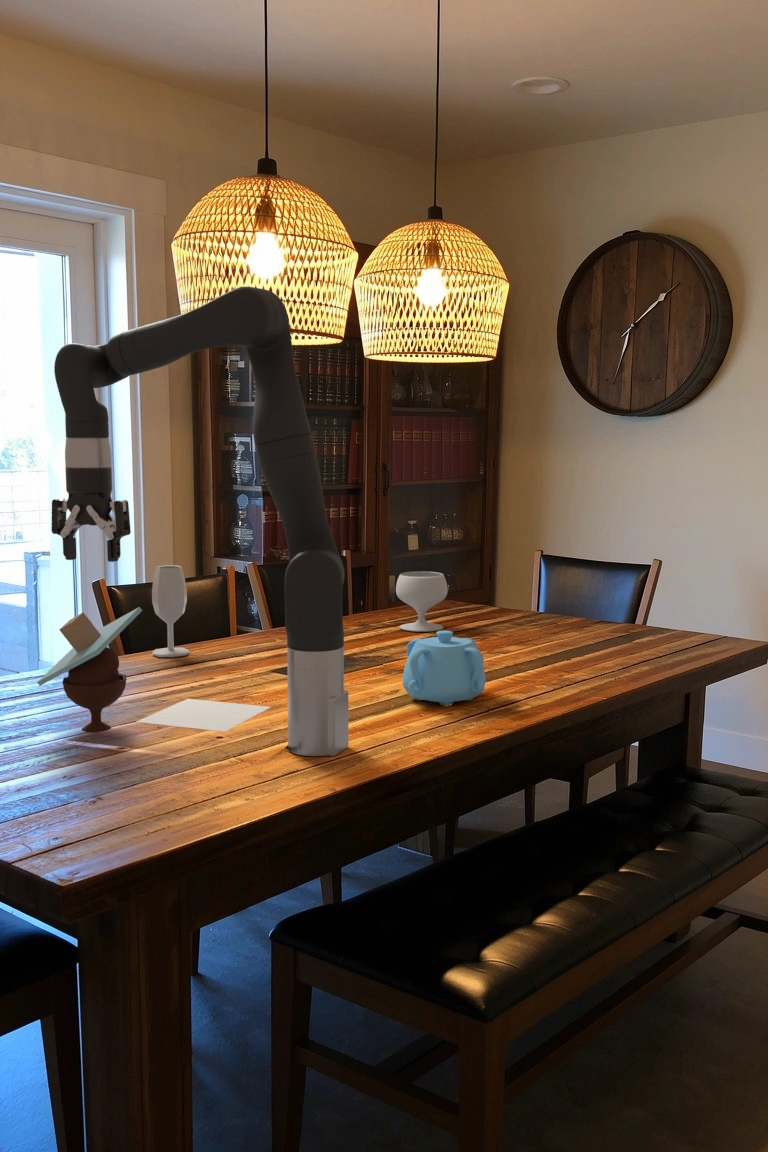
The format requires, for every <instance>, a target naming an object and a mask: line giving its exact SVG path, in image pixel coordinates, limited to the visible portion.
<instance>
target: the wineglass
mask: <svg viewBox="0 0 768 1152" xmlns="http://www.w3.org/2000/svg"><path fill="white" fill-rule="evenodd" d="M184 573H185V572H184V570H183V567H182V566H181V565H174V564H173V565H169V564H168V565H158V566H156V567H155V571H154V574H153V579H152V587H151V588H152V589H151V603H152V606H153V610H154V614H155V615H156V616H158V618H159V619H161V620H162V621H164V623H166V626H167V628H166V629H167V647H163V648H155V649H154V650H152V653H151V654H152V656H155V657H157V658H177V657H185V656H187V655H189V653H190V650H189V649H188V648H185V647H175V645H174V644H175V643H174V623H176V621H178V620H179V618H180V617H181V616H182V615H184V613H185V611H186V607H187V606H186V605H187V602H188V590H187V584H186V583H187V582H186V578H185V574H184Z"/></svg>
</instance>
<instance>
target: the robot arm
mask: <svg viewBox="0 0 768 1152" xmlns="http://www.w3.org/2000/svg"><path fill="white" fill-rule="evenodd" d="M237 346H238V347H242V348H245V350H246V352H247V353H246V354H247V356H248V360H249V363H250V366H251V370H252V375H253V376H252V377H253V380H254V404H253V405H254V407H253V417H252V418H253V419H252V433H253V441H254V446H255V450H256V454H257V459H258V462H259V466H260V467H259V468H260V469H261V473H262V476H263V479H264V482H265V483H266V487H267V489H268V492H269V493H270V497H271V499H272V501H273V504H274V506H275V507H276V510H277V512H278V514H279V516H280V519H281V523H282V526H283V529H284V530H283V531H284V535H285V540H286V547H287V552H288V561H289V563H288V564H287V567H286V569H285V572H284V573H285V574H284V585H283V586H284V590H283V591H284V593H283V594H284V625H285V627H284V628H285V632H286V633H285V634H286V646H287V647H286V649H287V650H286V651H287V652H286V654H287V655H286V656H287V657H286V658H287V671H286V672H287V749H288V751H289V752H290V753H292V754H296V755H299V756H306V757H322V756H333V757H334V756H337V755H339V753H342V751H344V750H345V749H346V748H348V747H349V691H348V690H347V689H345V684H344V683H345V677H344V676H345V675H344V674H345V673H344V671H345V669H344V667H345V653H344V651H345V650H344V649H345V647H344V645H345V643H344V642H345V641H344V640H345V637H344V636H345V631H344V622H343V621H344V620H343V614H344V613H343V612H344V611H343V610H344V609H343V607H344V606H343V588H344V587H343V586H344V582H345V575H346V574H345V573H346V572H345V567H344V564H343V560H342V558H341V556H340V553H339V551H338V548H337V545H336V543H335V539H334V536H333V533H332V531H331V527H330V523H329V521H328V517H327V513H326V508H325V499H324V492H323V484H322V477H321V473H320V466H319V461H318V457H317V456H318V455H317V451H316V447H315V442H314V437H313V434H312V430H311V425H310V423H309V419H308V416H307V415H308V414H307V411H306V406H305V402H304V399H303V398H304V397H303V394H302V391H301V385H300V384H299V379H298V375H297V371H296V366H295V365H296V364H295V357H294V352H293V351H294V350H293V349H294V348H293V343H292V334H291V326H290V320H289V315H288V311H287V309H286V306H285V303H284V302H283V301H282V300H281V298H280V297H279V296H278V295H277V294H276V293H274V292H273V291H270V290H268V289H263V288H259V287H254V286H239V287H235V288H233V289H231V290H229V291H228V292H225V293H224V294H222V295H219V296H217V297H216V298H214V299H212V300H211V301H207V302H206V303H204V304H202V305H200V306H198V307H196V308H194V309H192V310H189V311H187V312H184V313H181V314H180V315H179V314H178V315H176V316H173V317H169V318H167V319H163V320H159V321H156V322H152V323H149V324H146V325H142V326H138V327H135V328H133V329H129V330H125V331H122V332H119V333H117V334H115V335H113V336H112V337H110V339H109V340H108V342H106V343H104V344H98V345H88V344H83V343H74V342H73V343H67V344H65V345H63V346H62V347H61V348H60V349H59V351H58V352H57V353H56V357H55V359H54V370H53V371H54V372H53V373H54V378H55V383H56V387H57V391H58V394H59V397H60V401H61V404H62V407H63V410H64V416H65V417H64V421H65V424H64V425H65V446H64V448H65V449H64V462H65V463H64V464H65V466H64V467H65V469H64V470H65V485H66V486H65V488H66V489H65V491H66V492H67V494H68V498H67V499H66V498H54V499H52V500H51V533H52V534H53V535H58V536H60V537H61V538H62V555H63V556H64V557H65V558H64V559H65V560H66V561H72V560H77V537H75V535H76V534H77V532H78V530H79V529H80V528H81V527H82V526H85V525H86V526H87V525H88V526H97V527H98V528H99V530H100V531H101V530H102V532H103V533H104V534H105V536H106V537H107V539H108V540H106V550H107V552H106V553H107V561H108V563H114V562H118V561H119V558H121V551H122V550H121V539H122V538H123V537H126V536H130V534H131V533H132V532H131V520H130V506H129V505H130V504H129V501H128V500H126V499H121V500H115V501H113V499H112V496H111V495H112V491H113V472H112V469H113V468H112V450H111V444H110V436H109V435H110V427H109V426H110V425H109V412H108V409H107V407H106V405H104V404H102V403H101V402H99V401H98V400H97V396H96V393H95V392H96V391H95V389H100V388H105V387H109V386H111V385H114V384H116V383H118V382H120V381H123V380H125V379H126V378H128V377H130V376H135V375H138V374H143V373H145V372H148V371H152V370H157V369H159V368H162V367H165V366H168V365H170V364H173V363H174V362H177V361H179V360H180V359H182V358H184V357H187V356H188V355H191V354H194V353H196V352H199V351H204V350H208V349H213V348H222V347H223V348H225V347H237ZM68 510H69V512H70V514H69V516H68V517H67V512H68ZM111 512H113V513H114V517H113V516H112V515H111Z"/></svg>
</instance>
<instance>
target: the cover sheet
mask: <svg viewBox="0 0 768 1152" xmlns="http://www.w3.org/2000/svg"><path fill="white" fill-rule="evenodd" d="M141 612H143V609H142V608H141V607H140V606H138V607H137V608H135V609H133V610H132V611H130V612H128V613H126V614H124V615H122V616H120V617H119V618H117V619H115V620H113V621H111V622H109V623H108V624H106V625H104V626H103V627H101V628H99V629H97V628H96V627H95V625H94V624H93V623H92V621H91V620H90V619H89V618H88V617H87V615H86V613H84V612H81V613H80V614H78V615H76V616H74V617H73V618H71V619H69V620H68V621H67V622H66V623H64V625H62V626H61V627H60V628H59V631H60V633H61V634H62V635H63V637H64V638H65V639H66V641H67V642H68V643H69V645H71V647H72V648H71V649H70V650H69V651H68V652H67V653H66V654H65V655H64V656H63V657H62V658H61V659H60V660H58V661H57V663H55V665H53V666H52V667H51V668H50V669H49V670H48V671H47V672H46V673H44V675H43V676H42V677H41V678H39V680H38V681H37V682H36V683H37V684H38V686H39V687H40V686H42V685H44V684H46V683H48V682H50V681H52V680H54V679H56V678H57V677H59V676H61V675H63V674H65V673H66V672H67V673H68V672H69V670H70V669H72V668H74V667H76V666H78V665H80V664H82V663H83V662H85V661H87V660H89V659H91V658H93V657H95V656H96V655H98V654H100V653H101V652H102V651H103V650H104V649H105V648H106V647H107V648H108V646H109V645H110V644H111V643H112V642H113V641H114V639H116V638H117V637H118V636H119V635H120V634H121V633H122V632H123V631H124V630H125V629H126V628H127V626H129V625H130V624H131V623H132V622H133V621H134V619H136V618H137V616H139V615H140V614H141Z"/></svg>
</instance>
